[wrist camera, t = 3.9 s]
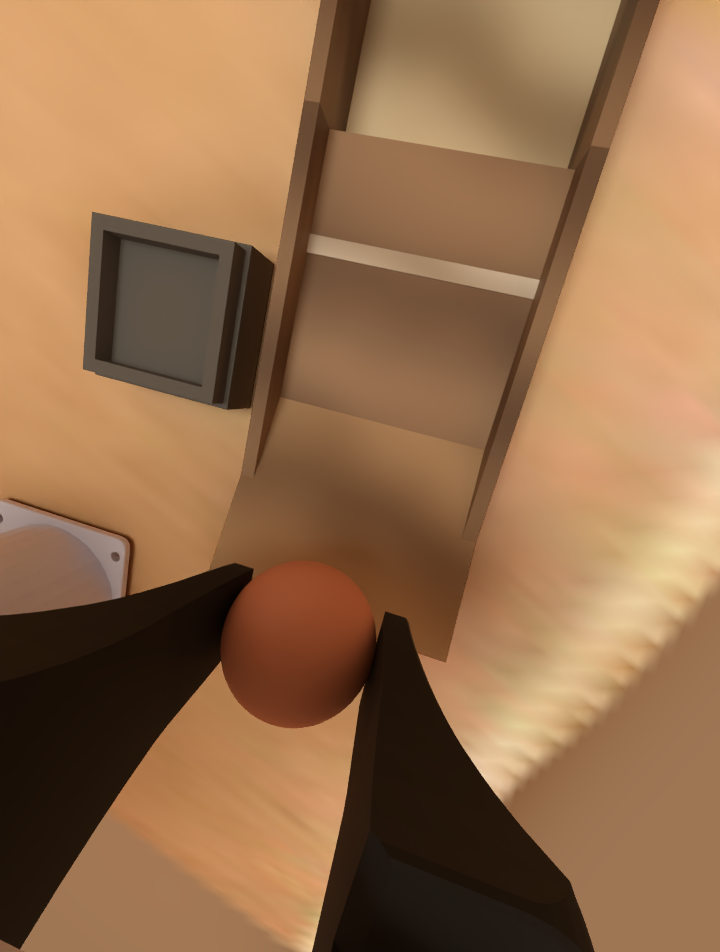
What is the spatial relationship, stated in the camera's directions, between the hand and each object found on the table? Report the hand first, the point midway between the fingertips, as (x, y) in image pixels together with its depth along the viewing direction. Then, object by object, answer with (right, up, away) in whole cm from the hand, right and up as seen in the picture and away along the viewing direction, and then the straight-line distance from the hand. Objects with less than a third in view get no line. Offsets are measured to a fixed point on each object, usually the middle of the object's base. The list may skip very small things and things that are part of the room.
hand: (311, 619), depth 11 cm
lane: (+3, +10, +4) cm, 12 cm away
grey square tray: (-6, +11, +6) cm, 13 cm away
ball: (0, 0, -1) cm, 1 cm away
